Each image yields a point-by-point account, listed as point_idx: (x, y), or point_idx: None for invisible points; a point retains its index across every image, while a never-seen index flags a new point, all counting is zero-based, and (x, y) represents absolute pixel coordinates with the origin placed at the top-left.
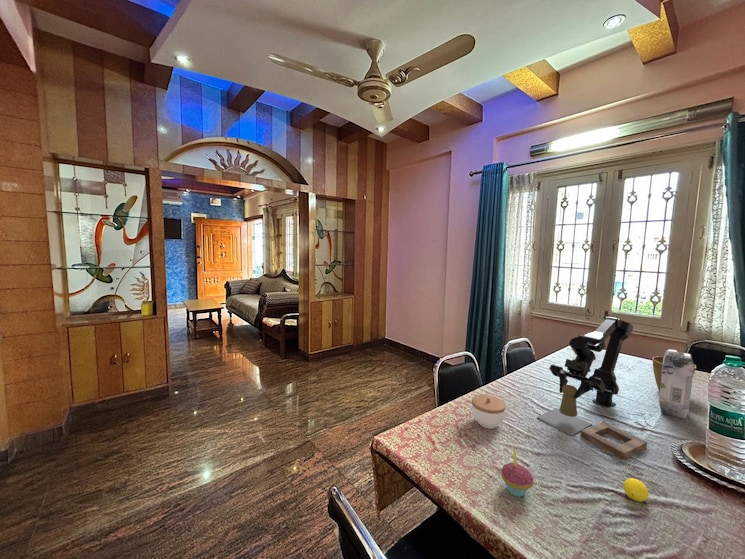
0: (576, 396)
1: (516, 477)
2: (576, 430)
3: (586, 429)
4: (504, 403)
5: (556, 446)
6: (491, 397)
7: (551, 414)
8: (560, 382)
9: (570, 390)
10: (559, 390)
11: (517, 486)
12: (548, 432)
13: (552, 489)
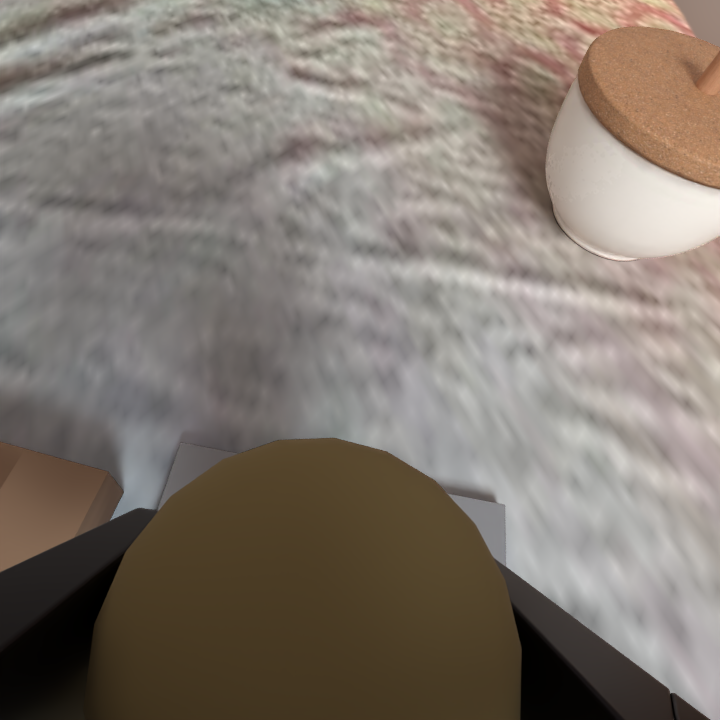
0: (112, 526)
1: None
2: None
3: (56, 536)
4: (648, 126)
5: (242, 254)
6: None
7: None
8: (684, 714)
9: (250, 453)
10: (505, 566)
11: None
12: (339, 367)
13: (172, 18)
